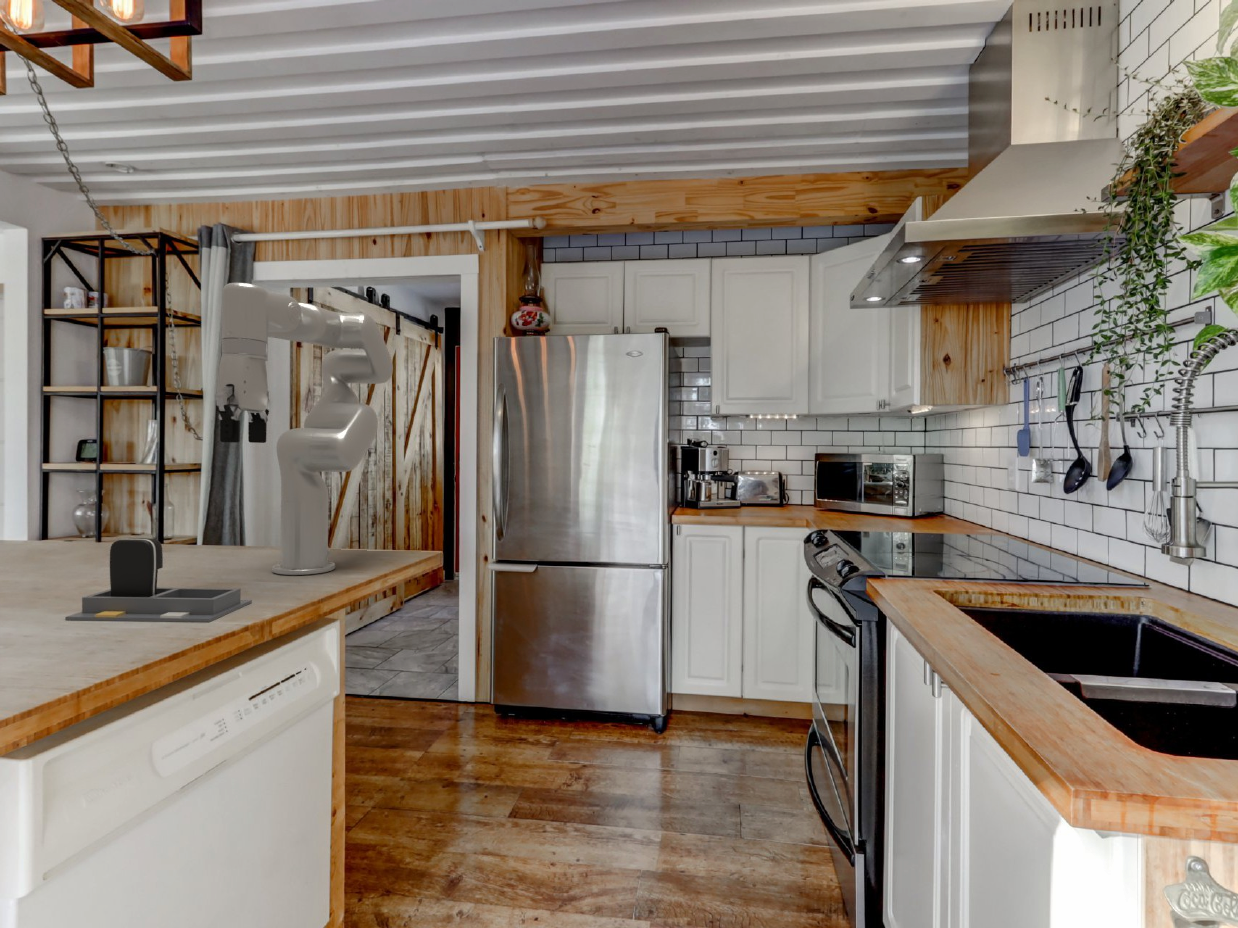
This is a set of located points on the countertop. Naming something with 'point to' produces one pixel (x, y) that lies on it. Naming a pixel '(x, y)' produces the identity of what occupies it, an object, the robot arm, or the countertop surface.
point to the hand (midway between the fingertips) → (244, 442)
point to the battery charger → (135, 567)
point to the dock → (162, 605)
